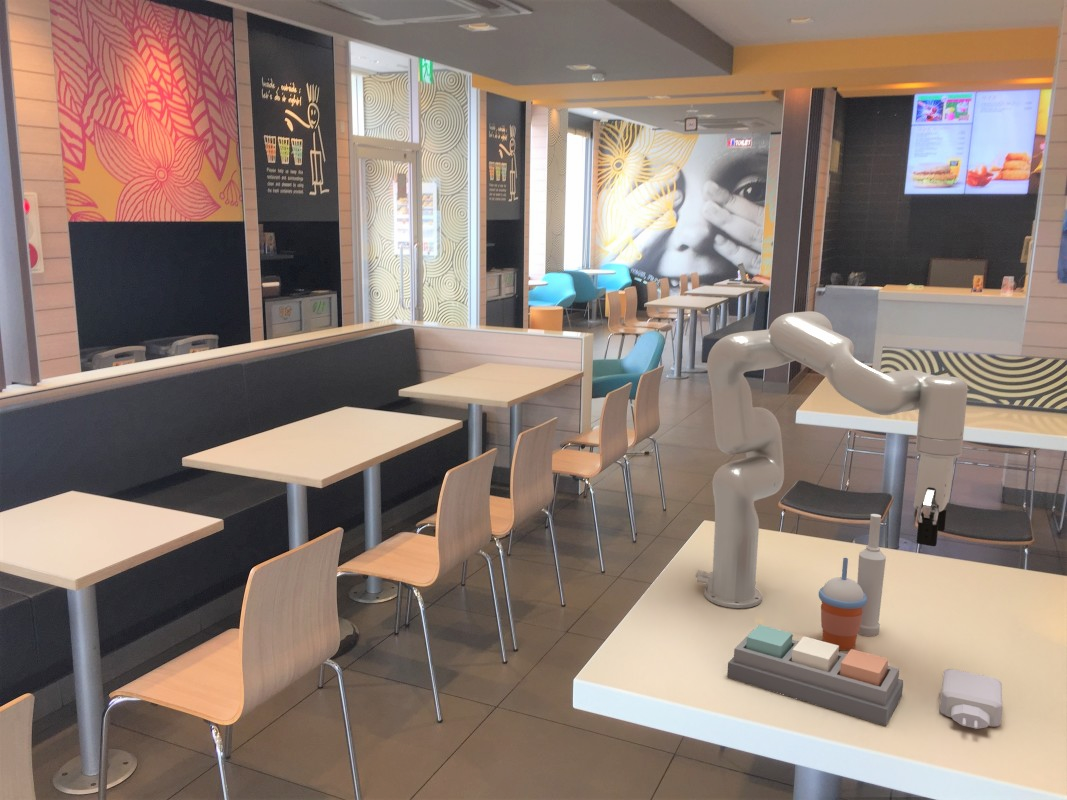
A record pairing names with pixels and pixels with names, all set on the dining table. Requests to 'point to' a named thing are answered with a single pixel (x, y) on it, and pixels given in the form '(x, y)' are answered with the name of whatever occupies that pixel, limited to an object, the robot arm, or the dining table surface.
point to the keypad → (818, 684)
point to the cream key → (815, 654)
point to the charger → (971, 699)
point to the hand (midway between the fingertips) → (930, 536)
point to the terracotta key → (864, 667)
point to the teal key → (769, 641)
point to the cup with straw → (841, 610)
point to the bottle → (871, 579)
